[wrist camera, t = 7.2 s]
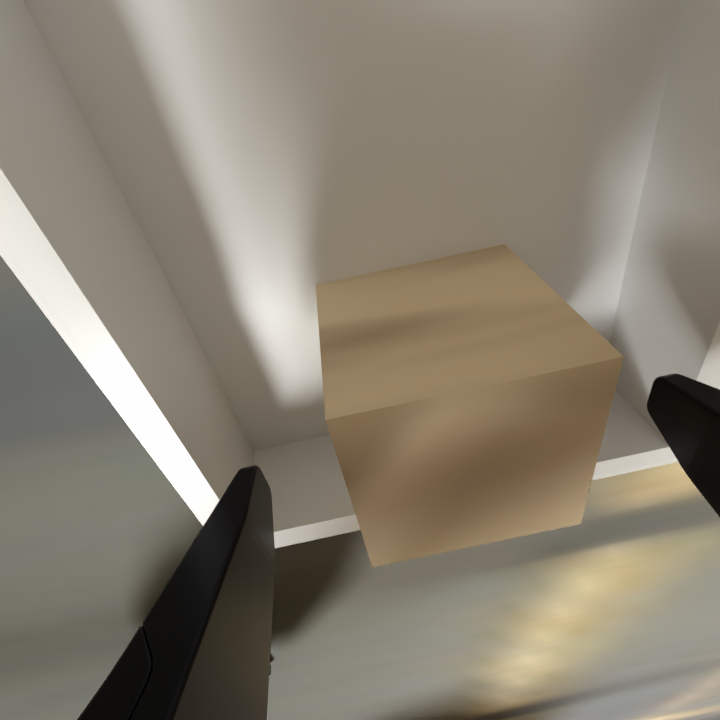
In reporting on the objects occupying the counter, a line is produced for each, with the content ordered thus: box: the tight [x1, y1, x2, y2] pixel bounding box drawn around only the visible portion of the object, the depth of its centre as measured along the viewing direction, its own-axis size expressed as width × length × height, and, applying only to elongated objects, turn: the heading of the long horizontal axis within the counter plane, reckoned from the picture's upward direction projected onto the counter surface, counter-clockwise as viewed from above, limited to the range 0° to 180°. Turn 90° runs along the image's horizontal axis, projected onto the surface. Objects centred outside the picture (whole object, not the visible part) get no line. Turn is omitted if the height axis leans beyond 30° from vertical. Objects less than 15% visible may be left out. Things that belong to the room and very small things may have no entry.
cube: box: [316, 244, 624, 567], centre depth 10 cm, size 5×5×5 cm
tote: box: [0, 0, 720, 548], centre depth 9 cm, size 16×14×4 cm
